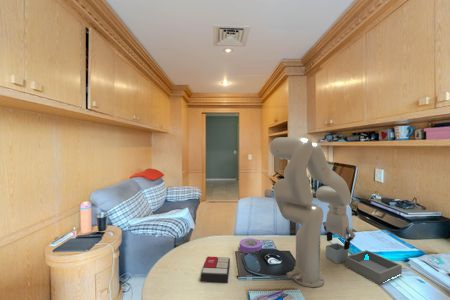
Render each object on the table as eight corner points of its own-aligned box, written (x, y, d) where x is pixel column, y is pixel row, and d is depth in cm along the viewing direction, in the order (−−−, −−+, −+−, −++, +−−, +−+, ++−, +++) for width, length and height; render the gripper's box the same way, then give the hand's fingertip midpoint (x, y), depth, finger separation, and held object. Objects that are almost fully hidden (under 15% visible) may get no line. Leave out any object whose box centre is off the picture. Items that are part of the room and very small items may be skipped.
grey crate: (379, 285, 89) (379, 273, 89) (345, 266, 103) (345, 256, 102) (401, 275, 95) (401, 265, 95) (366, 259, 109) (366, 250, 109)
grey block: (336, 263, 105) (336, 251, 105) (325, 257, 111) (325, 245, 110) (347, 259, 108) (348, 247, 108) (337, 254, 114) (337, 242, 114)
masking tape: (248, 242, 127) (248, 236, 127) (266, 249, 119) (266, 242, 119) (235, 249, 119) (235, 242, 119) (252, 257, 111) (252, 250, 111)
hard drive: (326, 238, 131) (339, 248, 118) (339, 237, 132) (354, 247, 119) (326, 241, 131) (339, 251, 118) (339, 240, 132) (354, 250, 119)
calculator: (229, 256, 105) (227, 273, 90) (229, 265, 105) (227, 283, 90) (206, 255, 106) (200, 271, 91) (206, 264, 106) (200, 282, 91)
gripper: (317, 206, 115) (318, 239, 116) (348, 217, 100) (349, 254, 101) (328, 204, 118) (328, 236, 119) (359, 214, 103) (359, 250, 104)
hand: (337, 244), depth 110 cm, fingers open, 9 cm apart
